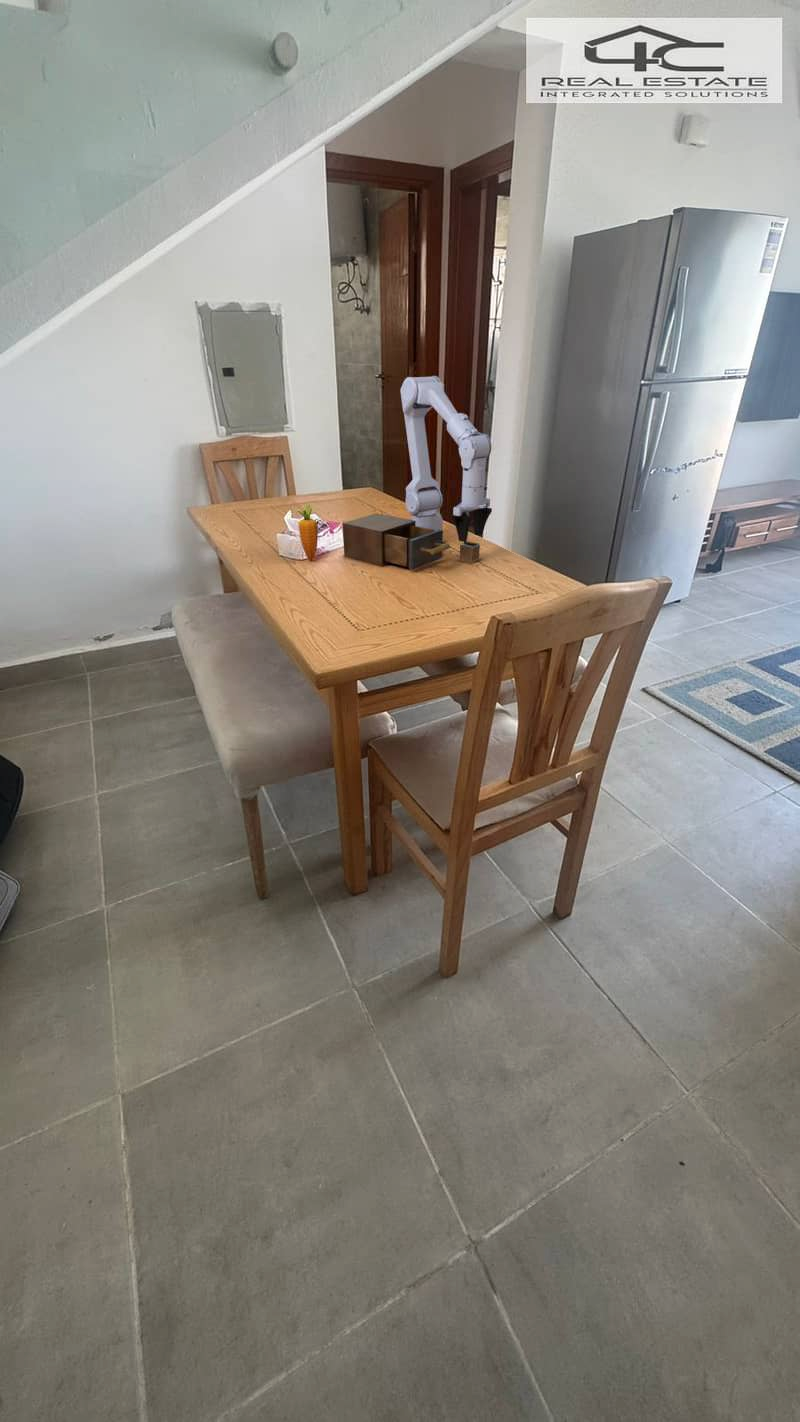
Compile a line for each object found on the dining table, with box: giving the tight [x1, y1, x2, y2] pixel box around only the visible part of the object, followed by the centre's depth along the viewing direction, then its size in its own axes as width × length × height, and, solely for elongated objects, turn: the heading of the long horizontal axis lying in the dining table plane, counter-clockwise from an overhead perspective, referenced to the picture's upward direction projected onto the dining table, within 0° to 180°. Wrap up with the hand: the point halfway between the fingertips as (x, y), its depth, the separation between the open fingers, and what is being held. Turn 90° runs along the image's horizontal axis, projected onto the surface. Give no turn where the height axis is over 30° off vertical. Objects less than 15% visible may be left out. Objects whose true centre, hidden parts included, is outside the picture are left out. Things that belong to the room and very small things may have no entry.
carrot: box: [297, 503, 319, 562], centre depth 164 cm, size 5×5×15 cm
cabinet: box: [342, 512, 416, 567], centre depth 170 cm, size 14×14×9 cm
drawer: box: [383, 525, 451, 571], centre depth 163 cm, size 18×13×8 cm
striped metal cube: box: [459, 540, 481, 564], centre depth 167 cm, size 4×4×5 cm
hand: (470, 538), depth 165 cm, fingers open, 7 cm apart
